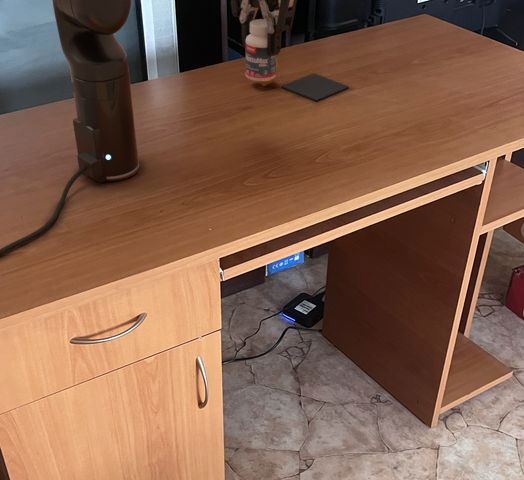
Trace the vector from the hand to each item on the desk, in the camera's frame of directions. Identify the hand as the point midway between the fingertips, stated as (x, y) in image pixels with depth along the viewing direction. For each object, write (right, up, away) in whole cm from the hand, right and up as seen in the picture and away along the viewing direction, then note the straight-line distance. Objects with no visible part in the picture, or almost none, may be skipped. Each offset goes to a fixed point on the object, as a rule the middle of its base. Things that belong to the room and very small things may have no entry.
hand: (261, 49), depth 132 cm
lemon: (+1, +5, +33) cm, 34 cm away
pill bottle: (0, -4, +3) cm, 5 cm away
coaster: (+11, +4, +33) cm, 35 cm away
